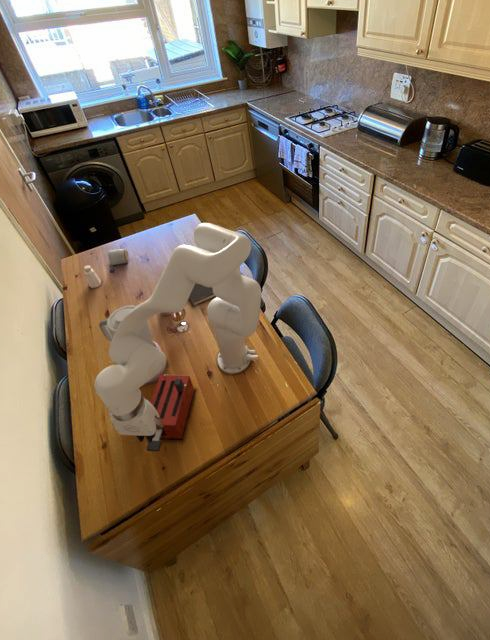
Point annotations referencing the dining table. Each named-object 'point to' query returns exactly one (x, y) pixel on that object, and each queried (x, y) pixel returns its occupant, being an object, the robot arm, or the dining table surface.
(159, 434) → the bread lever
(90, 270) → the pepper shaker
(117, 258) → the ceramic mug
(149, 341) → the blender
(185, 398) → the toaster
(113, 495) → the dining table surface
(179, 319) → the wineglass
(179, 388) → the browning slider
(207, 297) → the hardcover book
